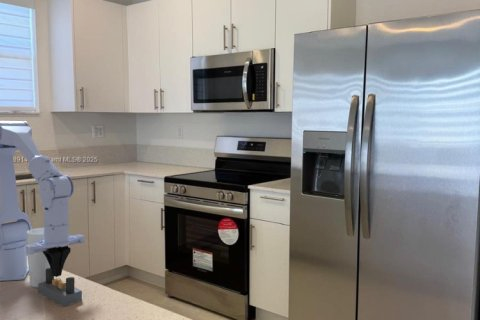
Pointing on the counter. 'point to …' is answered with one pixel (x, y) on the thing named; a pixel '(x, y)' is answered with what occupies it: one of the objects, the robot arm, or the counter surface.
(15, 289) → the counter surface
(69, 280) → the cord plug front
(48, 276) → the cord plug back
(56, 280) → the tan wooden dumbbell piece
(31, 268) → the drinking glass
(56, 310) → the counter surface
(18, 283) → the counter surface
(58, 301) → the grey base plate
